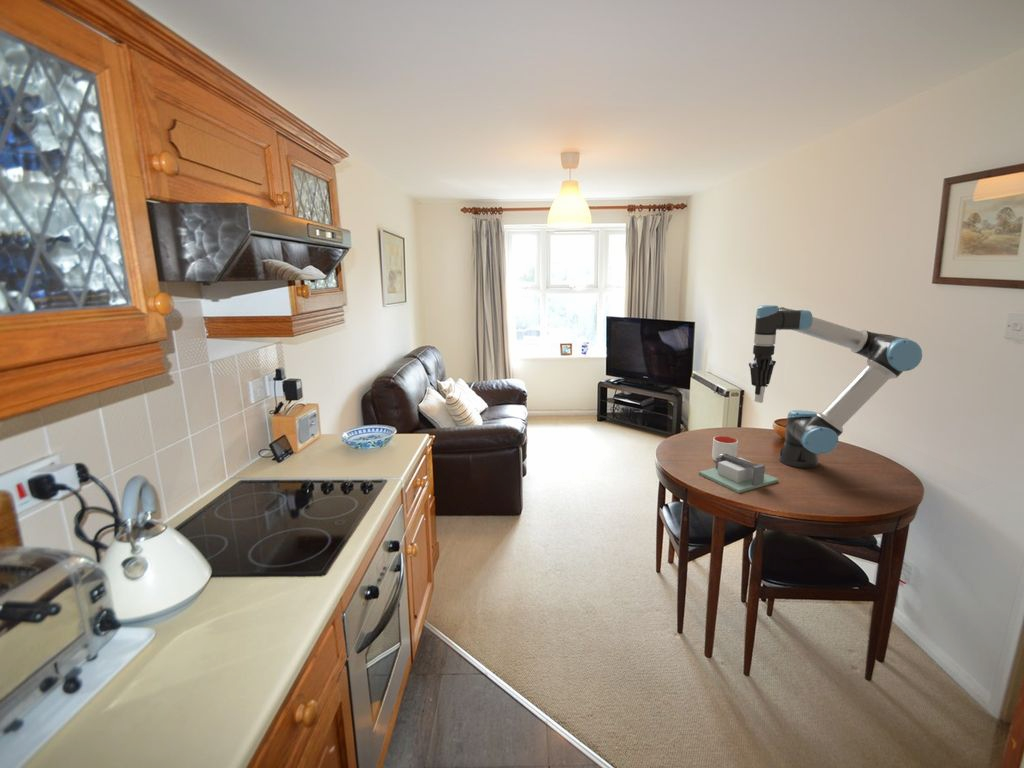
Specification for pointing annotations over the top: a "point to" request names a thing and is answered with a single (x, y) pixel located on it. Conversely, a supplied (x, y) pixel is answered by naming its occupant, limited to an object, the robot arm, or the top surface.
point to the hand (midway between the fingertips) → (758, 401)
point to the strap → (737, 460)
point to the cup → (724, 446)
